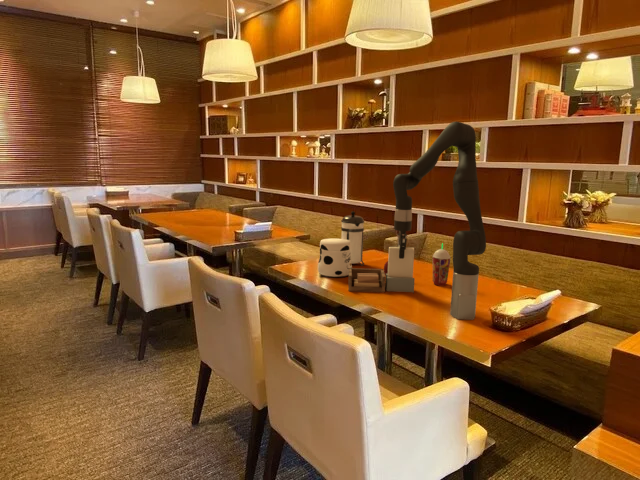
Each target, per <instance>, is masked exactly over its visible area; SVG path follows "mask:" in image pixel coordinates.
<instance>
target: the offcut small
mask: <svg viewBox="0 0 640 480" xmlns="http://www.w3.org/2000/svg"><path fill="white" fill-rule="evenodd" d="M378 278H379V276H378V274H377V273H357V281H358V283H378Z"/></svg>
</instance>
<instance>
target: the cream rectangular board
mask: <svg viewBox="0 0 640 480" xmlns="http://www.w3.org/2000/svg"><path fill="white" fill-rule="evenodd" d="M387 261H388V277H405V278H414V265H415V264H414V261H415V247H407V246H406V249H405V250H404V258H403V259H400V258H399V247H398V246H389V247H388V259H387Z"/></svg>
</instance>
